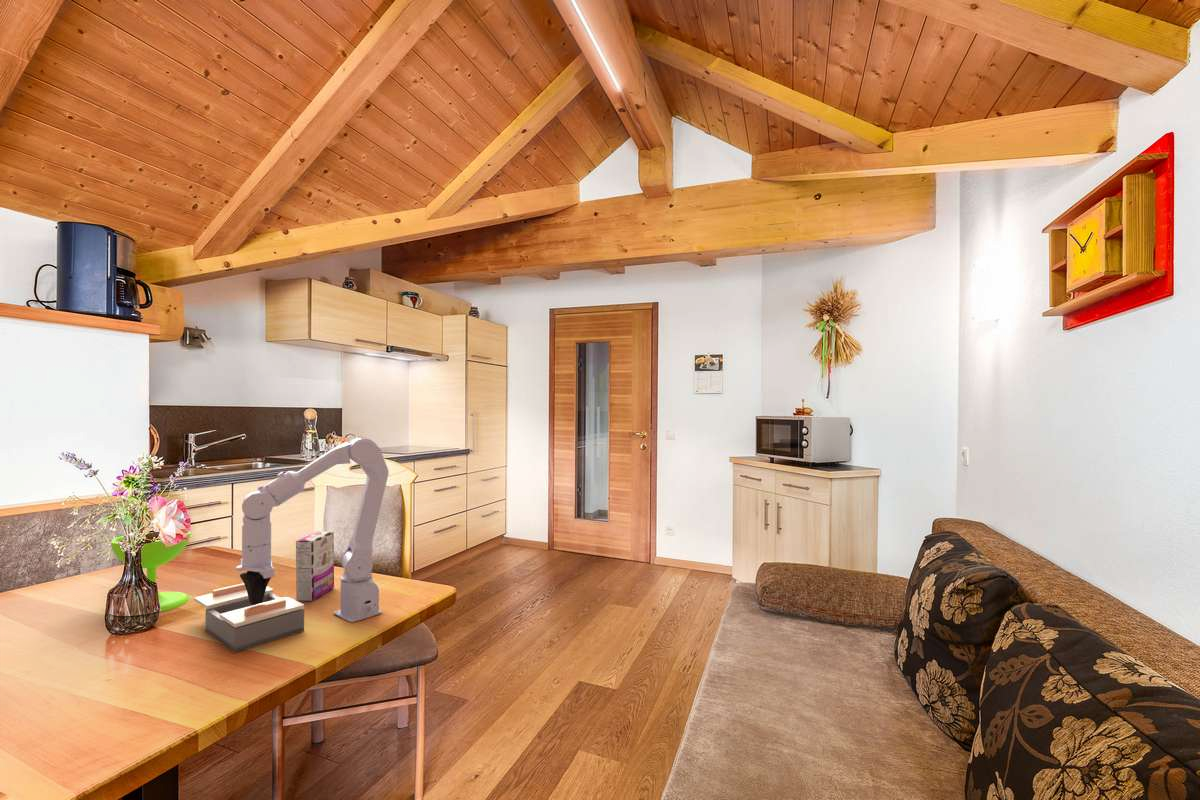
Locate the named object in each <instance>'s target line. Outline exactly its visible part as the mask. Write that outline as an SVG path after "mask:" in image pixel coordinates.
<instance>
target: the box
mask: <svg viewBox="0 0 1200 800" xmlns="http://www.w3.org/2000/svg"><path fill="white" fill-rule="evenodd" d="M279 598H281V597H280V596H279V595H277V594H274V592H273V593H270V594H266V595H264V598H263V602H262V603H264V602H268V601H272V600H276V599H279ZM259 604H260V603H259ZM255 605H256V604H255ZM249 606H252V604H250V601H249V599H246V600H242V601H238V602H234V603H230V604H226V605H222V606H218V607H214V608H210V609H206V608H205V619H204V620H205V621H204V622H205V623H204V624H205V626H204V627H205V628H204V629H205V630H204V631H205V632H206V633H207V634H208V635H210V636H211V637H212V638H214V639H215V640H216V641H218V642H219V643H221V644H222V645H223V646H225V647H226V648H227V649H229V650H230V651H231V652H233V653H234V654H236V653H239V652H243V651H245V650H249V649H252V648H255V647H259V646H261V645H264V644H267V643H270V642H274V641H277V640H280V639H283V638H287V637H289V636H292V635H296V634H300V633H303V632H305V608H303V609H299V610H296V611H292V612H289V613H285V614H281V615H278V616H274V617H271V618H267V619H264V620H260V621H257V622H253V623H250V624H246V625H243V626H239V627H233V626H232V625H230V624H229V623H227V622H226V621H224V620H223V619H221V618H220V614H222V613H225V612H229V611H233V610H237V609H241V608H245V607H249Z"/></svg>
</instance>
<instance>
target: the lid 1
mask: <svg viewBox="0 0 1200 800" xmlns="http://www.w3.org/2000/svg"><path fill="white" fill-rule="evenodd" d="M270 593H273V594H274V588H271V587H270V586H267V587H266V591H265V595H266V594H270ZM193 598H194V599H193V600H194V602H195V603H197V604H198V605H199V606H201V607H203V608H205V610H206V609H210V608H214V607H218V606H222V605H226V604H230V603H234V602H238V601H242V600H246V599H249V598H248V594H247V590H246V587H245V584H244V582H242V583H238V584H234V585H230V586H226V587H225V586H224V587H221V588H216V589H213V590H212V591H211V593H208V594H203V595H199V596H198V595H197V596H195V597H193Z"/></svg>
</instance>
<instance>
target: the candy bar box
mask: <svg viewBox="0 0 1200 800" xmlns="http://www.w3.org/2000/svg"><path fill="white" fill-rule="evenodd" d="M334 532H335V531H333V530H318V531H316V532H314V533H312V534H309V535H307V536H305V537H303V538H300V539H298V540H295V563H296V564H295V569H296V570H295V571H296V574H295V575H296V584H295V586H296V588H295V589H296V590H295V591H296V601H298V602H315V601H316V600H317V599H319V598H321V597H322V596H324V595H325V594H327V593H328V592H330V591H331V590H332V589H334V588H335V560H334V559H335V558H334V557H335V552H334V551H335V547H334V545H335V541H334V537H335V536H334Z"/></svg>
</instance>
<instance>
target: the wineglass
mask: <svg viewBox="0 0 1200 800" xmlns="http://www.w3.org/2000/svg"><path fill="white" fill-rule="evenodd" d="M188 531H189V532H188V535H187V539H186V540H185V541H181V542H179V543H178V544H176V545H174V546H171V547H166V546H165V544H164V543H163V542H161V541H155V542H151V543H149V544H146V545H145V546H144V547H143V548H142V550H141V554H142V562H141V564H142V568H141V569H146V579H147V578H148V579H149V580H150V581H153V582H155V583H156V584H157V568H158V567H161V566H163V565H165V564H167V563H169V562H171V561H172V560H174V559H175V558H177V557H178V556H179V555H180V554H181V553H182V552H183V551H184V550H185V548H186V547H187V545H188V543H189V539H190V534H191V533H190V532H191V531H190V530H188ZM124 536H125V535H122V536H119V537H115V538H113V539H112V540H111V541H110V544H111V550H112V552H113V554H114V556H115V557H116V559H118V560H120V561H121V562H122V563H123V564H125V554H124V552H123V551H122V550H121V548H120V545H119V544H118V543H117V542H116V540H123V539H124ZM158 597H159V601H160V609H161V612H160V613H162V612H166V611H169V610H172V609H176V608H178V607H181V606H183V605H184V604H186V603H188V602H189V601H190V597H189V595H188V594H186V593H185V592H181V591H161V592H158Z"/></svg>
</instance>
